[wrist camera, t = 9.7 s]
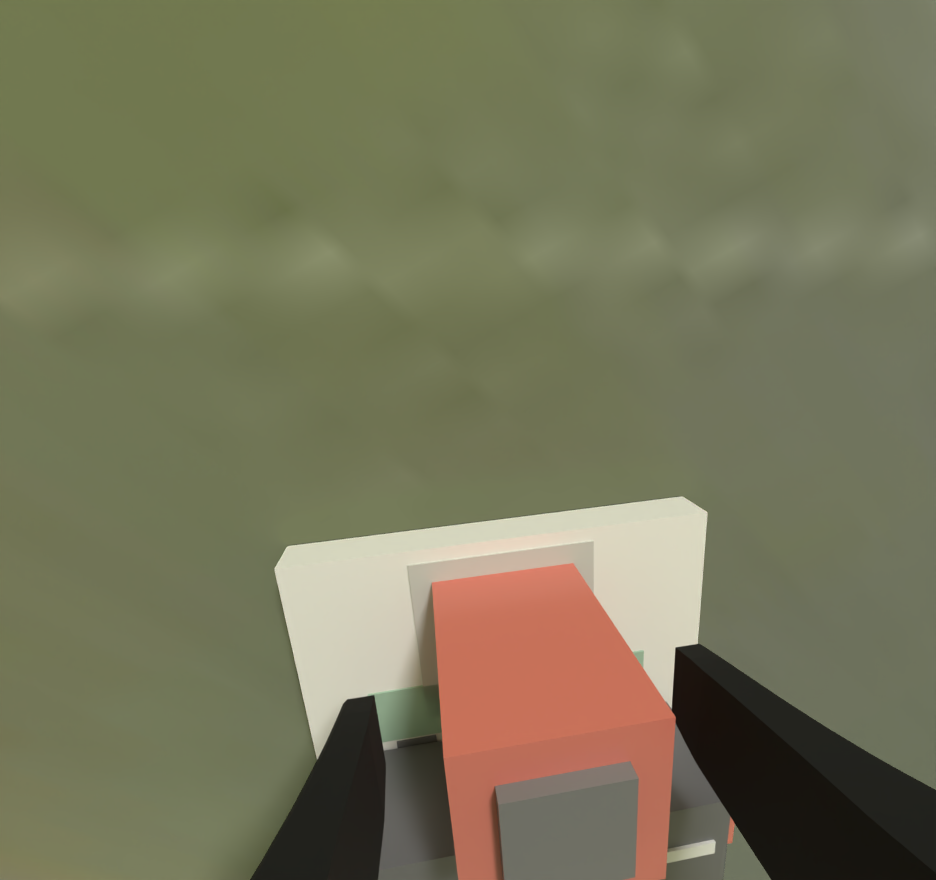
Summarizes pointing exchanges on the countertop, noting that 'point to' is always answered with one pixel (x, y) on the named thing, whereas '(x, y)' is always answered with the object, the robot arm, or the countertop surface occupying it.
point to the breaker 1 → (417, 816)
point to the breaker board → (468, 555)
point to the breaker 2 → (695, 822)
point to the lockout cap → (548, 733)
